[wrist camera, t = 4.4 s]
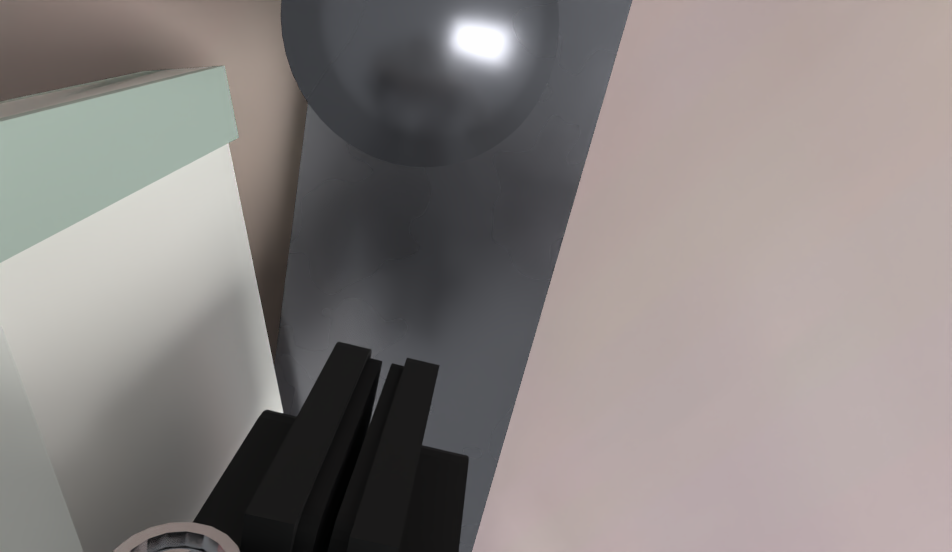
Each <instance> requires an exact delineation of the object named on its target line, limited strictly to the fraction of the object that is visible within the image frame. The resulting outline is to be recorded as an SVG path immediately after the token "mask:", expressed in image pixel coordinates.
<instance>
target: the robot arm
mask: <svg viewBox="0 0 952 552" xmlns="http://www.w3.org/2000/svg"><path fill="white" fill-rule="evenodd" d="M371 352H372V351H371V349H368V348H364V347H360V346H356V345H351V344H347V343H343V342H337V343H336V345H335V347H334V349H333V350H332V352H331V354H330V356H329V358H328V360H327V362H326V363H325V365H324V367H323V369H322V371H321V373H320V375H319V376H318V378H317V380H316V382H315V384H314V386H313V388H312V389H311V391H310V393H309V395H308V397H307V399H306V401H305V402H304V404H303V406H302V408H301V410H300V412H299V414H298V415H297V416H293V415H288V414H284V413H280V412H275V411H271V410H265V411H263V412H262V413H261V415H260V416H259V417H258V419H257V421H256V422H255V424H254V425H253V427H252V429H251V430H250V432H249V433H248V435H247V436H246V438H245V440H244V441H243V443H242V444H241V446H240V448H239V449H238V451H237V452H236V454H235V456H234V457H233V459H232V460H231V462H230V464H229V465H228V467H227V468H226V470H225V471H224V473H223V475H222V476H221V478H220V479H219V481H218V483H217V484H216V486H215V487H214V489H213V491H212V492H211V494H210V495H209V497H208V498H207V500H206V502H205V503H204V505H203V506H202V508H201V510H200V511H199V513H198V514H197V516H196V518H195V519H194V521H193V522H172V523H167V524H163V525H158V526H154V527H150V528H148V529H146V530H144V531H141V532H139V533H137V534H135V535H133V536H131V537H130V538H129V539H127V540H126V541H125V542H123V543H122V544H121V545H120V546H118V547H117V548H116V549H115V550H114V551H113V552H459V544H460V535H461V526H462V518H463V509H464V500H465V491H466V482H467V473H468V463H469V457H468V456H467V455H463V454H458V453H454V452H450V451H445V450H441V449H437V448H432V447H428V446H423V445H422V443H423V438H424V434H425V429H426V425H427V420H428V416H429V411H430V406H431V402H432V397H433V393H434V388H435V384H436V379H437V375H438V370H439V366H440V365H437V364H433V363H429V362H424V361H420V360H416V359H411V358H407V359H406V362H405V365H404V366H402V365H398V364H393V363H392V364H391V366H390V369H389V372H388V375H387V378H386V380H385V383H384V386H383V389H382V392H381V394H380V397H379V400H378V403H377V406H376V408H375V411H374V414H373V417H372V420H371V416H372V411H373V406H374V401H375V397H376V392H377V387H378V382H379V377H380V372H381V367H382V361H380V360H376V359H372V358H371ZM370 421H371V423H370Z"/></svg>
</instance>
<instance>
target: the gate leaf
mask: <svg viewBox="0 0 952 552" xmlns="http://www.w3.org/2000/svg"><path fill="white" fill-rule="evenodd" d="M237 138H239V136H238V131H237V126H236V121H235V116H234V111H233V106H232V101H231V96H230V90H229V85H228V80H227V75H226V70H225V66H211V67H196V68H181V69H167V70H152V71H142V72H137V73H132V74H127V75H123V76H118V77H113V78H108V79H104V80H99V81H94V82H89V83H85V84H80V85H75V86H71V87H66V88H61V89H56V90H52V91H47V92H42V93H37V94H33V95H28V96H23V97H18V98H14V99H9V100H4V101H0V552H113V551H114V550H115V549H116V548H117V547H118V546H120V545H121V544H122V543H123V542H125V541H126V540H127V539H129V538H130V537H131V536H133V535H135V534H137V533H139V532H141V531H144V530H146V529H148V528H150V527H154V526H158V525H163V524H167V523H172V522H193V521H194V519H195V518H196V516H197V514H198V513H199V511H200V510H201V508H202V506H203V505H204V503H205V502H206V500H207V498H208V497H209V495H210V494H211V492H212V491H213V489H214V487H215V486H216V484H217V483H218V481H219V479H220V478H221V476H222V475H223V473H224V471H225V470H226V468H227V467H228V465H229V464H230V462H231V460H232V459H233V457H234V456H235V454H236V452H237V451H238V449H239V448H240V446H241V444H242V443H243V441H244V440H245V438H246V436H247V435H248V433H249V432H250V430H251V429H252V427H253V425H254V424H255V422H256V421H257V419H258V417H259V416H260V415H261V413H262V412H263V411H265V410H271V411H275V412H280V413H283V408H282V403H281V399H280V394H279V389H278V384H277V379H276V374H275V369H274V364H273V359H272V354H271V349H270V344H269V340H268V335H267V330H266V325H265V320H264V315H263V310H262V305H261V300H260V295H259V290H258V285H257V281H256V276H255V271H254V266H253V261H252V256H251V251H250V246H249V241H248V236H247V231H246V226H245V222H244V217H243V212H242V207H241V202H240V197H239V192H238V187H237V182H236V177H235V172H234V167H233V163H232V158H231V153H230V148H229V143H230V142H232V141H233V140H235V139H237Z"/></svg>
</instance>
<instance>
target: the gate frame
mask: <svg viewBox="0 0 952 552" xmlns="http://www.w3.org/2000/svg"><path fill="white" fill-rule="evenodd" d="M631 3H632V0H282V1H281V25H282V36H283V42H284V47H285V52H286V56H287V59H288V62H289V65H290V68H291V71H292V74H293V76H294V78H295V80H296V82H297V84H298V87H299V89H300V90H301V92H302V94H303V95H304V97H305V99H306V100H307V102H308V107H307V115H306V123H305V131H304V139H303V147H302V154H301V162H300V170H299V178H298V186H297V193H296V201H295V209H294V217H293V225H292V232H291V240H290V248H289V256H288V264H287V272H286V279H285V287H284V295H283V303H282V311H281V318H280V326H279V334H278V342H277V350H276V357H275V365H274V369H275V374H276V379H277V384H278V389H279V394H280V399H281V403H282V408H283V413H284V414H288V415H293V416H297V415H298V414H299V412H300V410H301V408H302V406H303V404H304V402H305V401H306V399H307V397H308V395H309V393H310V391H311V389H312V388H313V386H314V384H315V382H316V380H317V378H318V376H319V375H320V373H321V371H322V369H323V367H324V365H325V363H326V362H327V360H328V358H329V356H330V354H331V352H332V350H333V349H334V347H335V345H336V343H337V342H343V343H347V344H351V345H356V346H360V347H364V348H368V349H371V351H372V352H371V358H372V359H376V360H380V361H382V367H381V372H380V377H379V382H378V387H377V392H376V397H375V401H374V406H373V411H372V416H371V420H372V417H373V414H374V411H375V408H376V406H377V403H378V400H379V397H380V394H381V392H382V389H383V386H384V383H385V380H386V378H387V375H388V372H389V369H390V366H391V364H392V363H393V364H398V365H402V366H404V365H405V362H406V359H407V358H411V359H416V360H420V361H424V362H429V363H433V364H437V365H440V366H439V370H438V375H437V379H436V384H435V388H434V393H433V397H432V402H431V406H430V411H429V416H428V420H427V425H426V429H425V434H424V438H423V443H422V445H423V446H428V447H432V448H437V449H441V450H445V451H450V452H454V453H458V454H463V455H467V456H468V457H469V463H468V473H467V482H466V491H465V500H464V509H463V518H462V526H461V535H460V544H459V552H472V549H473V546H474V542H475V539H476V535H477V532H478V528H479V525H480V521H481V518H482V515H483V511H484V508H485V504H486V501H487V497H488V494H489V491H490V487H491V484H492V480H493V477H494V473H495V470H496V467H497V463H498V460H499V456H500V453H501V449H502V446H503V442H504V439H505V436H506V432H507V429H508V425H509V422H510V418H511V415H512V412H513V408H514V405H515V401H516V398H517V394H518V391H519V388H520V384H521V381H522V377H523V374H524V370H525V367H526V364H527V360H528V357H529V353H530V350H531V346H532V343H533V339H534V336H535V333H536V329H537V326H538V322H539V319H540V315H541V312H542V309H543V305H544V302H545V298H546V295H547V291H548V288H549V285H550V281H551V278H552V274H553V271H554V267H555V264H556V260H557V257H558V254H559V250H560V247H561V243H562V240H563V236H564V233H565V230H566V226H567V223H568V219H569V216H570V212H571V209H572V206H573V202H574V199H575V195H576V192H577V188H578V185H579V181H580V178H581V175H582V171H583V168H584V164H585V161H586V157H587V154H588V151H589V147H590V144H591V140H592V137H593V133H594V130H595V127H596V123H597V120H598V116H599V113H600V109H601V106H602V102H603V99H604V96H605V92H606V89H607V85H608V82H609V78H610V75H611V72H612V68H613V65H614V61H615V58H616V54H617V51H618V48H619V44H620V41H621V37H622V34H623V30H624V27H625V24H626V20H627V17H628V13H629V10H630V6H631ZM370 423H371V421H370Z"/></svg>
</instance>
